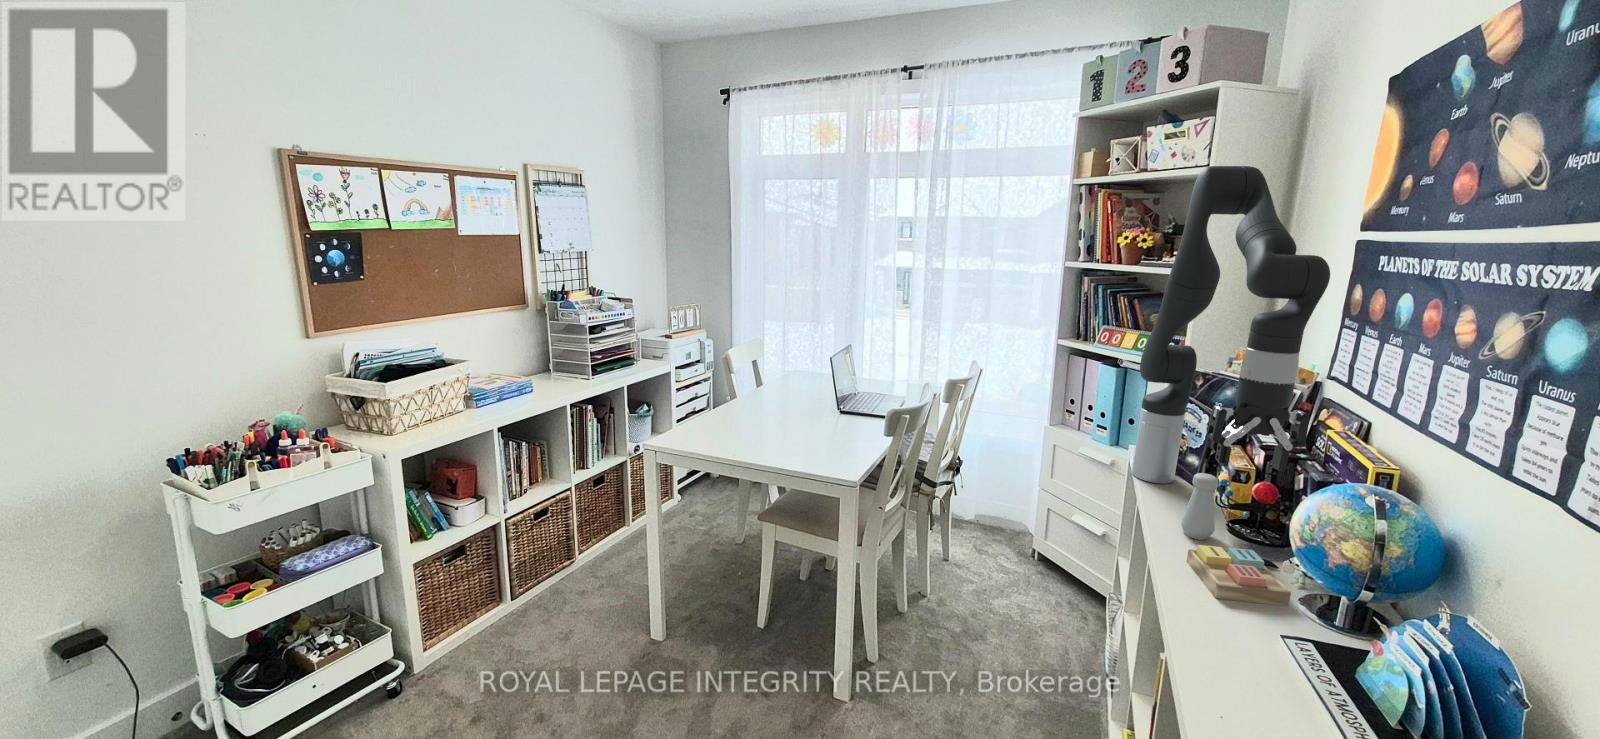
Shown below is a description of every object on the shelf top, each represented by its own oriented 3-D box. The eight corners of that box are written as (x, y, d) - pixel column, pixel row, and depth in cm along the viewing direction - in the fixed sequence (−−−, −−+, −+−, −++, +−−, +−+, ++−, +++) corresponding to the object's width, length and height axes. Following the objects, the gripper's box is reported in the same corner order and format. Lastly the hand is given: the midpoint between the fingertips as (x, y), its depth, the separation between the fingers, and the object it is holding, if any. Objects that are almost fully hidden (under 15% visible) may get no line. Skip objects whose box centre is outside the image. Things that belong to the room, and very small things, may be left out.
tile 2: (1226, 559, 114) (1228, 547, 114) (1250, 561, 114) (1252, 549, 113) (1236, 571, 111) (1239, 558, 110) (1261, 573, 110) (1264, 561, 109)
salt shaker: (1219, 540, 124) (1231, 480, 121) (1197, 544, 123) (1208, 483, 120) (1194, 526, 130) (1205, 468, 127) (1172, 530, 128) (1182, 471, 125)
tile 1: (1195, 556, 115) (1197, 544, 115) (1218, 558, 115) (1221, 546, 114) (1204, 568, 112) (1207, 555, 111) (1229, 570, 111) (1232, 558, 110)
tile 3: (1226, 576, 109) (1228, 563, 109) (1251, 578, 109) (1254, 565, 108) (1237, 589, 105) (1240, 576, 105) (1263, 591, 105) (1266, 578, 104)
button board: (1186, 561, 117) (1188, 549, 116) (1251, 567, 115) (1254, 555, 114) (1215, 598, 105) (1218, 585, 105) (1288, 605, 104) (1291, 592, 103)
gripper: (1301, 372, 107) (1282, 461, 110) (1210, 368, 109) (1195, 455, 113) (1329, 384, 99) (1308, 479, 103) (1231, 379, 102) (1214, 472, 106)
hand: (1249, 466), depth 108 cm, fingers open, 8 cm apart
